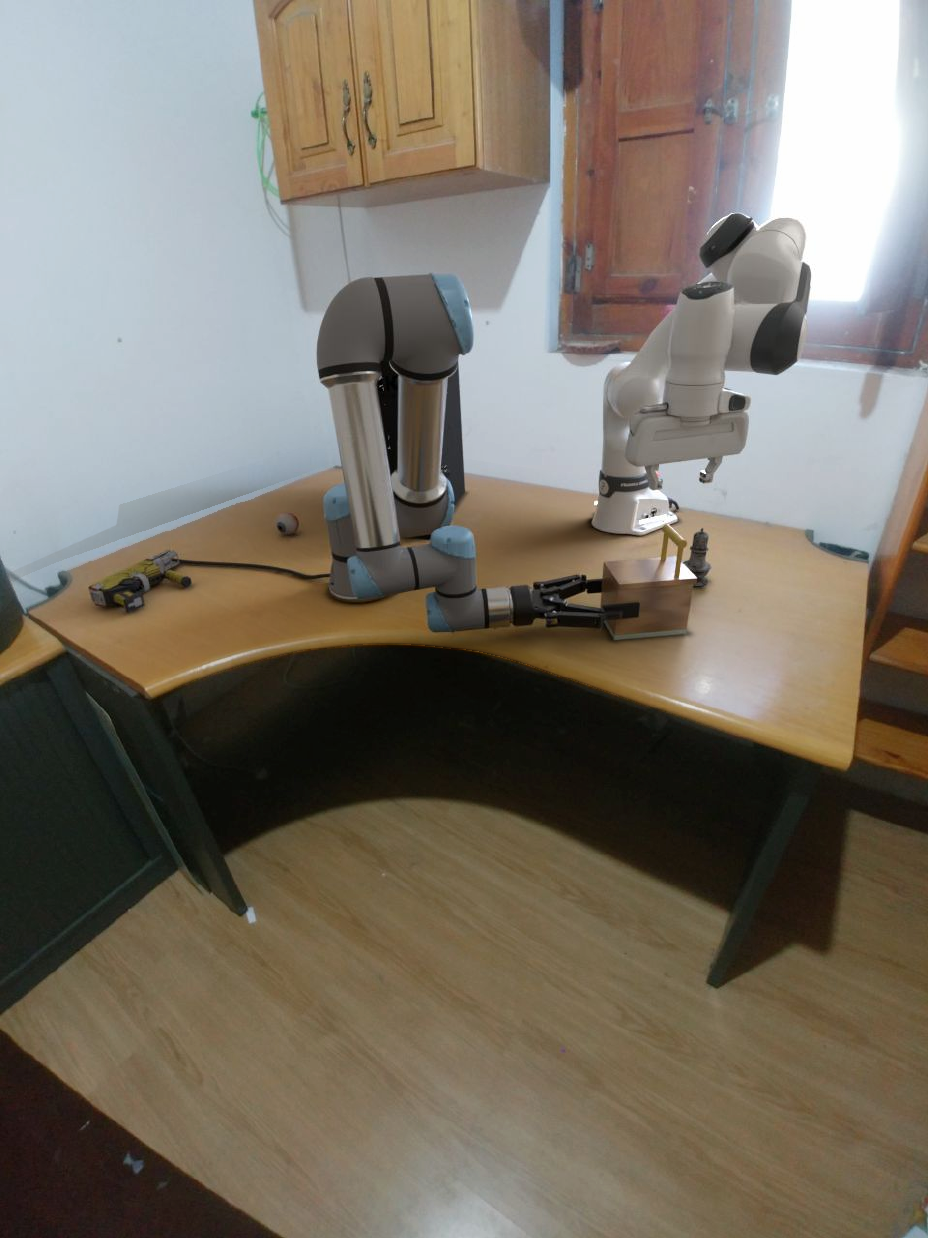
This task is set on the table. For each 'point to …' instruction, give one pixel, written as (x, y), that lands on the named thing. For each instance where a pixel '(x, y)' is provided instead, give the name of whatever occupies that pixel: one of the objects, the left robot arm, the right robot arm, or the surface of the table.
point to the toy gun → (136, 582)
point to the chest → (648, 609)
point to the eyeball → (287, 523)
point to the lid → (653, 567)
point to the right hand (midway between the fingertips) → (680, 485)
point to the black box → (451, 434)
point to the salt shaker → (699, 558)
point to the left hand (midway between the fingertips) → (629, 596)
